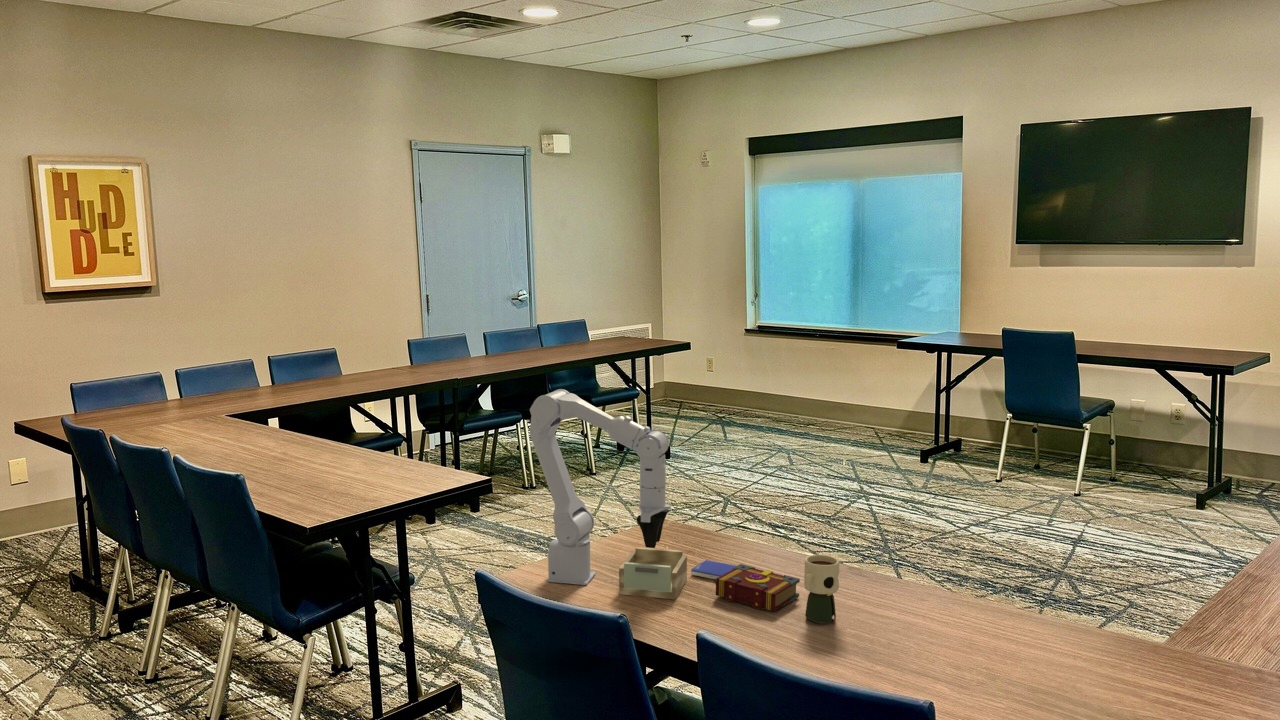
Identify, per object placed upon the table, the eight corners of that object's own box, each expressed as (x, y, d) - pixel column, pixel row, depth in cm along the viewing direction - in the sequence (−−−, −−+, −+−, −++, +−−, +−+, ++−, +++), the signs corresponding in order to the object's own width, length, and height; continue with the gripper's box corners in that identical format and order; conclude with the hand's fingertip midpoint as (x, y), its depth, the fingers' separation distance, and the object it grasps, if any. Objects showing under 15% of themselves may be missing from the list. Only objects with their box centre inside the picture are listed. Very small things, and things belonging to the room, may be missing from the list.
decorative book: (774, 614, 208) (775, 591, 207) (709, 596, 217) (710, 574, 217) (799, 598, 217) (800, 576, 216) (736, 581, 226) (736, 560, 226)
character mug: (820, 632, 199) (822, 570, 197) (791, 623, 203) (792, 562, 202) (849, 616, 206) (851, 557, 205) (820, 608, 211) (821, 549, 209)
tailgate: (623, 588, 217) (623, 564, 217) (625, 586, 219) (625, 562, 218) (669, 592, 215) (669, 568, 214) (670, 590, 217) (670, 565, 216)
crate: (619, 594, 219) (619, 563, 218) (632, 575, 231) (632, 546, 230) (676, 599, 216) (676, 568, 215) (686, 580, 228) (686, 551, 227)
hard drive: (690, 569, 230) (739, 578, 224) (706, 559, 237) (753, 567, 231) (690, 575, 230) (739, 584, 224) (706, 565, 237) (753, 574, 231)
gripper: (663, 495, 211) (663, 556, 213) (676, 478, 225) (676, 535, 227) (631, 493, 213) (631, 553, 215) (646, 476, 227) (646, 533, 229)
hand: (652, 544), depth 221 cm, fingers open, 4 cm apart
